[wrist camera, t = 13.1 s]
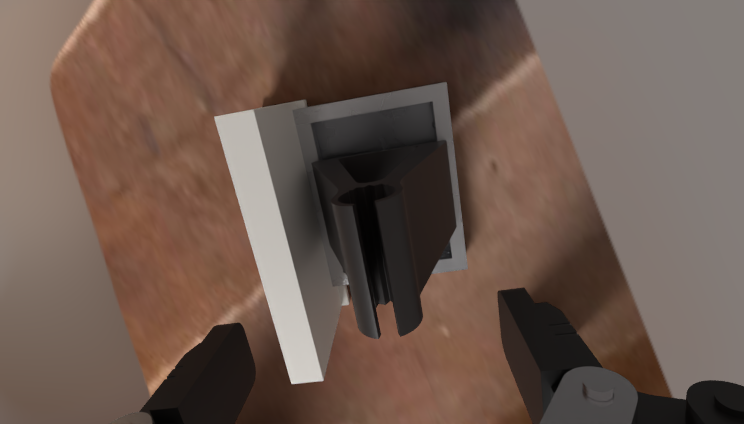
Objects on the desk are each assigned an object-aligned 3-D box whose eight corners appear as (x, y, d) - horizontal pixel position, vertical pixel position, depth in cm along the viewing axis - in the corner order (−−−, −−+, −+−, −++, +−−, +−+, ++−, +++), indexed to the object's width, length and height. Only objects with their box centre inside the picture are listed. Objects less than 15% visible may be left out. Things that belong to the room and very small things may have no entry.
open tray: (463, 257, 30) (467, 269, 29) (336, 274, 32) (332, 286, 30) (443, 81, 27) (446, 81, 25) (299, 108, 28) (292, 110, 26)
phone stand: (329, 242, 29) (286, 349, 17) (312, 160, 27) (250, 220, 15) (455, 225, 28) (498, 326, 16) (446, 139, 26) (486, 185, 14)
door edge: (349, 300, 32) (333, 379, 24) (311, 305, 33) (281, 385, 24) (306, 99, 27) (265, 107, 19) (261, 107, 28) (202, 119, 19)
